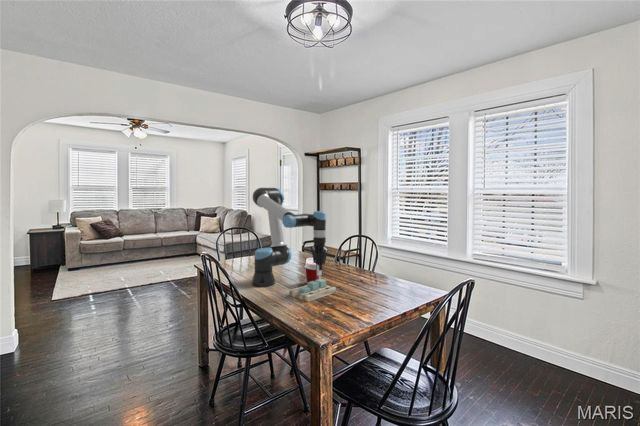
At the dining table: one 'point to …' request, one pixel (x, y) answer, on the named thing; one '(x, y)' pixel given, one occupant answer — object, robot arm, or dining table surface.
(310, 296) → the board
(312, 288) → the button
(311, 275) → the plastic cup
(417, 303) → the dining table surface
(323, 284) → the button
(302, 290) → the button
